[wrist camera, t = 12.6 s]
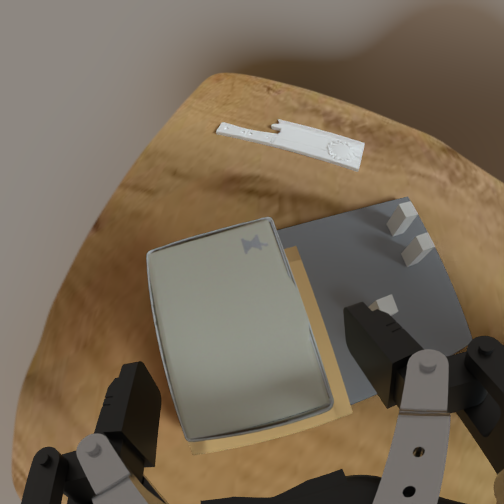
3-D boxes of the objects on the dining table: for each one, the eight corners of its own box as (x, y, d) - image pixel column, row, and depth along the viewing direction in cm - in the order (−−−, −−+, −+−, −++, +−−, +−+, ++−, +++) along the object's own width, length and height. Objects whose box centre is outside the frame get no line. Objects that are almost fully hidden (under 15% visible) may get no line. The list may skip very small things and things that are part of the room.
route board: (404, 202, 24) (419, 176, 21) (466, 343, 19) (495, 334, 15) (163, 267, 23) (145, 245, 20) (203, 443, 17) (188, 455, 14)
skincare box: (210, 320, 20) (139, 240, 9) (270, 304, 20) (270, 204, 9) (234, 409, 17) (180, 448, 6) (297, 392, 18) (340, 408, 7)
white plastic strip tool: (236, 110, 32) (235, 102, 31) (364, 143, 28) (366, 136, 27) (216, 136, 30) (215, 129, 29) (356, 175, 27) (359, 168, 26)
